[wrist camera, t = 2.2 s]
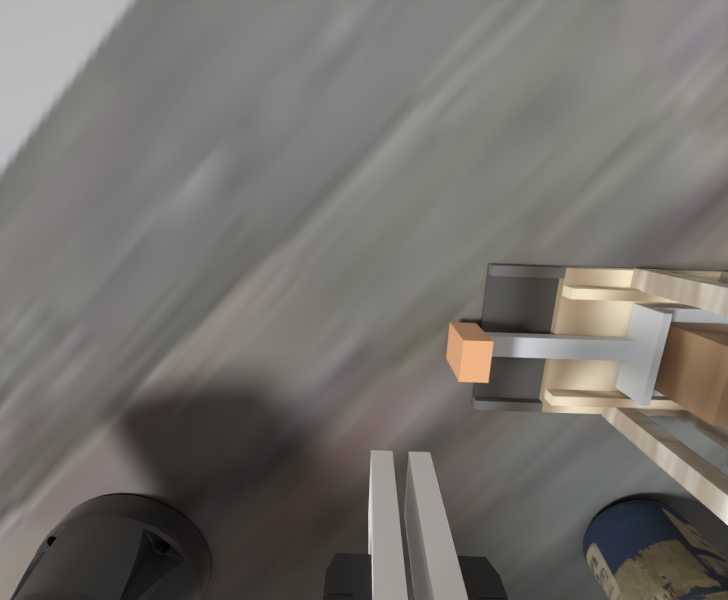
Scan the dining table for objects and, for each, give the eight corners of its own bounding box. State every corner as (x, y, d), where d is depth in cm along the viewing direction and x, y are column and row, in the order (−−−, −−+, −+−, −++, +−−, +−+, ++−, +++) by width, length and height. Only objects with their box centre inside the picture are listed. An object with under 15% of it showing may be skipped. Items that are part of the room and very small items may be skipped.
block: (644, 383, 27) (712, 425, 22) (659, 321, 26) (736, 349, 21) (703, 385, 27) (785, 428, 22) (721, 323, 26) (813, 352, 21)
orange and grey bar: (444, 381, 29) (456, 407, 25) (452, 297, 27) (466, 311, 23) (701, 390, 29) (754, 418, 25) (726, 306, 27) (786, 322, 23)
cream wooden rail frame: (471, 404, 30) (545, 542, 18) (488, 261, 27) (592, 304, 15) (775, 415, 30) (1066, 561, 18) (825, 273, 27) (1219, 326, 15)
